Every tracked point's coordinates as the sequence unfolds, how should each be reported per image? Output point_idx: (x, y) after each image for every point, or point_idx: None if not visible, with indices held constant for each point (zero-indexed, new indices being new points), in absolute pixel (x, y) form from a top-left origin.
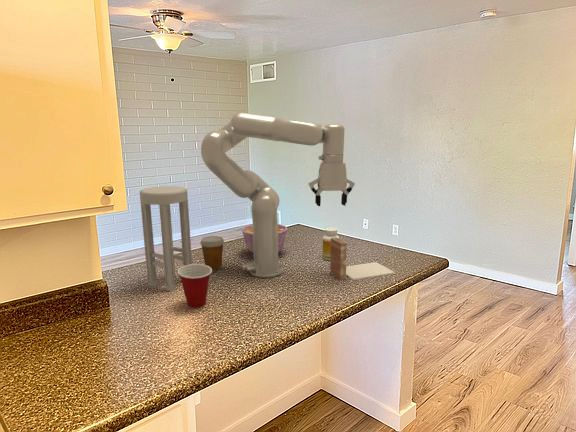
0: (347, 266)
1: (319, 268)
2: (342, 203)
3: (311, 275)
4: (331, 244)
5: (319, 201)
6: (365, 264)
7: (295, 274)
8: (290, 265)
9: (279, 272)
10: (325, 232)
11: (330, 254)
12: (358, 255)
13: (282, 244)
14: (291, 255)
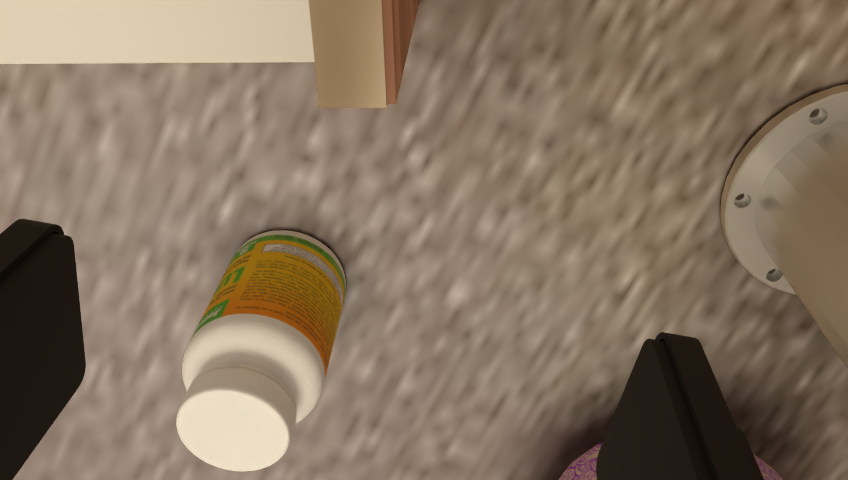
0: (244, 59)
1: (452, 125)
2: (65, 323)
3: (578, 12)
4: (400, 62)
5: (711, 409)
6: (89, 46)
7: (676, 79)
8: (613, 251)
9: (802, 111)
10: (293, 415)
11: (303, 258)
12: (80, 255)
13: (580, 475)
14: (515, 402)
